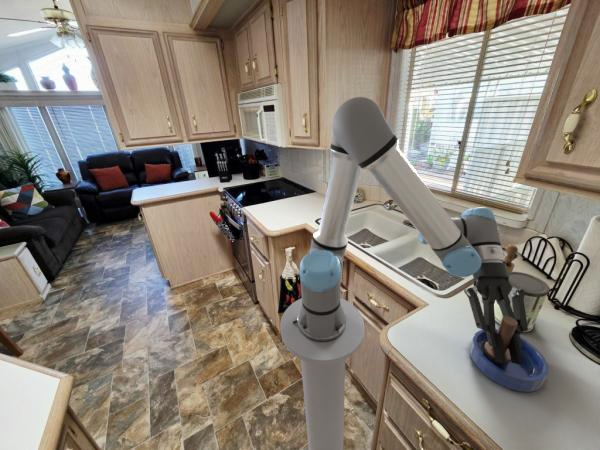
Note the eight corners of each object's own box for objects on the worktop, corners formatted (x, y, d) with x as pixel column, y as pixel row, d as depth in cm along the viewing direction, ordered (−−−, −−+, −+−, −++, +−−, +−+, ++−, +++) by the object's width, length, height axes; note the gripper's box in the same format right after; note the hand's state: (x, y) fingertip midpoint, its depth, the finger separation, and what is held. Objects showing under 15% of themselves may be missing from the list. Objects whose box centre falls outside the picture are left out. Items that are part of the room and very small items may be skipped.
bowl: (487, 390, 58) (492, 377, 56) (459, 338, 71) (462, 327, 69) (558, 396, 56) (566, 383, 54) (516, 341, 69) (521, 330, 67)
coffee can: (489, 302, 83) (501, 267, 77) (530, 314, 77) (546, 277, 72) (490, 323, 75) (503, 286, 69) (535, 337, 70) (554, 298, 64)
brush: (488, 370, 61) (504, 329, 56) (476, 350, 66) (490, 311, 61) (513, 372, 61) (532, 330, 55) (499, 352, 66) (515, 312, 60)
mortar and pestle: (513, 291, 87) (530, 247, 80) (504, 298, 84) (520, 253, 77) (492, 281, 92) (506, 239, 85) (483, 288, 90) (496, 244, 82)
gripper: (462, 260, 64) (480, 363, 56) (531, 261, 61) (561, 368, 53) (449, 266, 71) (464, 358, 63) (511, 267, 68) (535, 363, 60)
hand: (509, 362), depth 58 cm, fingers closed on brush, 3 cm apart
